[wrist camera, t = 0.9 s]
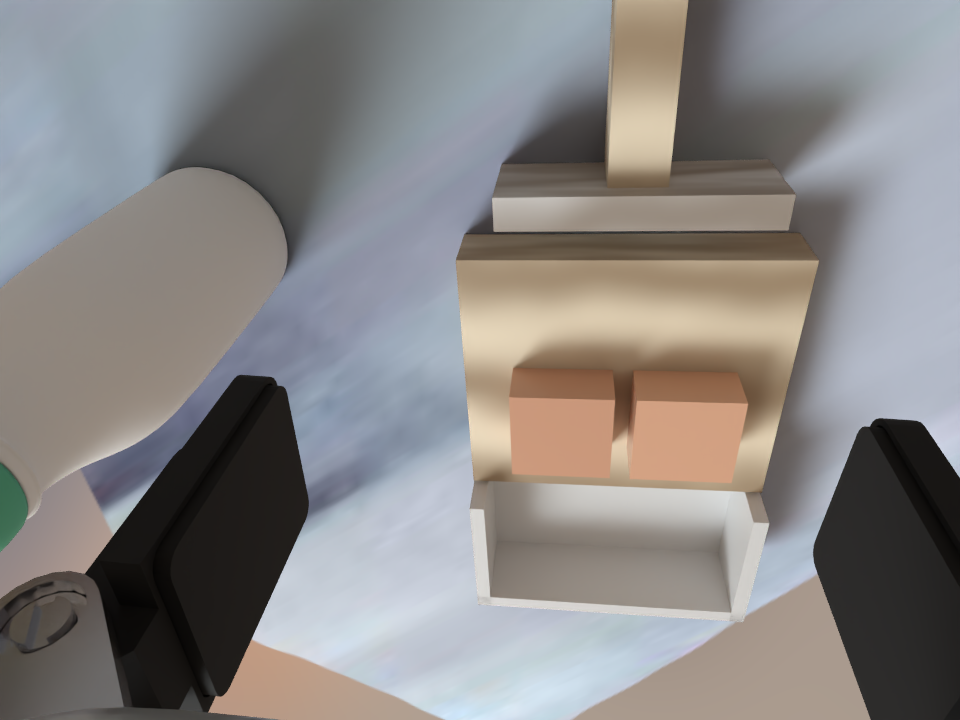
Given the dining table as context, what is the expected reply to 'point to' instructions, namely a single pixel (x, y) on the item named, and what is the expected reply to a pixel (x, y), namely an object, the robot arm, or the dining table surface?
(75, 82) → the dining table surface
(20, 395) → the milk bottle
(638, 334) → the board
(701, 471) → the tile
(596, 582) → the box
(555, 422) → the tile
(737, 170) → the scraper
